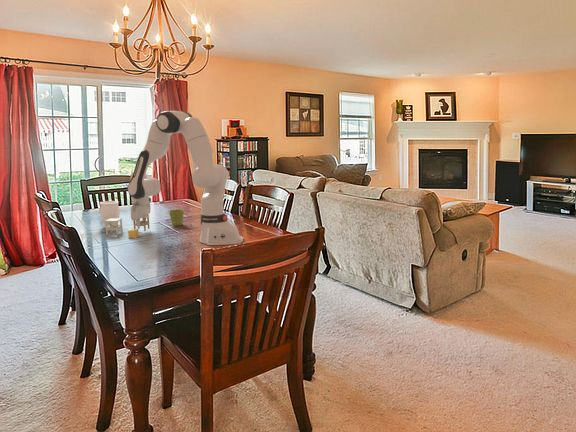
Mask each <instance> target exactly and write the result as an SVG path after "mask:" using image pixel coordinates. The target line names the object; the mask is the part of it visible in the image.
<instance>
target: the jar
mask: <svg viewBox="0 0 576 432" xmlns="http://www.w3.org/2000/svg"><path fill="white" fill-rule="evenodd" d="M99 205H100V209H99V213H100V218H101V221H102V224H103V228H105V229H106V225H105V221H106V220H108V219H110V218H120V208H119V201H118V200H104V201H100V202H99ZM117 223H118V224H119V223H120V221H118V222H117ZM112 225H116V222H112ZM108 226H110V222H107V227H108Z"/></svg>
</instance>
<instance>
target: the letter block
mask: <svg viewBox="0 0 576 432" xmlns="http://www.w3.org/2000/svg"><path fill="white" fill-rule="evenodd" d="M127 233H128V234H127V236H128V238H133V239H135V238H137V237H140V236H139V234H140V233H139V229H138V228H136V229H134V228H129V229H128V230H127Z"/></svg>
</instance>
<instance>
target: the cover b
mask: <svg viewBox="0 0 576 432" xmlns="http://www.w3.org/2000/svg"><path fill="white" fill-rule="evenodd" d="M122 219H123V218H121V217H119V218H110V219H108V220H106V221H105V225H106V228H105V234H106V236H108V235H109V231H110V233H111V234H113V233H114V232H113V231H115V232H116V236H119V230H120V233H121V234H123V230H124V228H123V220H122ZM118 221H119V222H118ZM107 222H110V226H108V227H107ZM112 222H116V225H112ZM117 222H118V223H117ZM119 223H120V224H119Z"/></svg>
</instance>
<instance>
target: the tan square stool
mask: <svg viewBox="0 0 576 432" xmlns="http://www.w3.org/2000/svg"><path fill="white" fill-rule="evenodd" d="M145 217H147V218H146V221H145ZM141 219H142V220H144V221H142V220H140V223H141V226H140V227H137V223H136V221H135V220H132V222H133V229H138V230H139V229H140V228H141V227H143V231H144V232H146V231H147V229H148V230H149V229H150V214H146V215H144V216H142V218H141Z"/></svg>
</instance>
